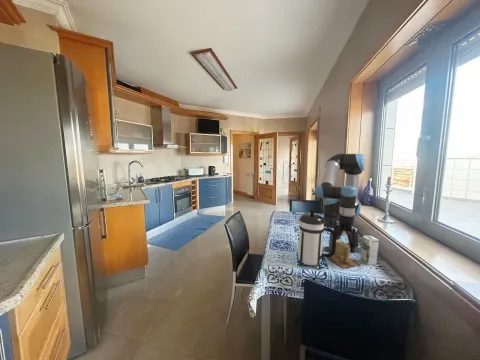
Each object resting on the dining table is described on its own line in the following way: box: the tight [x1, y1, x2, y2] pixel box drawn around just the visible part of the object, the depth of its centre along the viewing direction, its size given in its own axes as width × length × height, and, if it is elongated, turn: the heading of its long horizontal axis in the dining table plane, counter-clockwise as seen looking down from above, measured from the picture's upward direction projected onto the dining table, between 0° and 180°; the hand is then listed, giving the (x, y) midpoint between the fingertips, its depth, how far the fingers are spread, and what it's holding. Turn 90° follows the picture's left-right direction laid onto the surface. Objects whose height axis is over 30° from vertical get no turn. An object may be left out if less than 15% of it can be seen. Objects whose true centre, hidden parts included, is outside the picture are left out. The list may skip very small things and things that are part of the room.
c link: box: [334, 240, 353, 262], centre depth 114 cm, size 4×8×8 cm, turn 19°
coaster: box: [326, 255, 361, 270], centre depth 114 cm, size 12×12×1 cm
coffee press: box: [296, 209, 336, 270], centre depth 110 cm, size 17×16×30 cm
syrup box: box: [359, 235, 380, 266], centre depth 113 cm, size 6×6×14 cm
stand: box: [323, 231, 361, 256], centre depth 128 cm, size 20×10×12 cm, turn 109°
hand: (343, 254), depth 114 cm, fingers closed on c link, 8 cm apart
